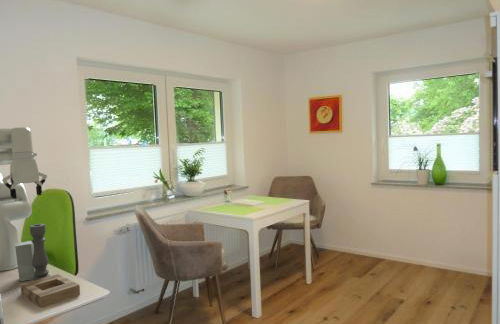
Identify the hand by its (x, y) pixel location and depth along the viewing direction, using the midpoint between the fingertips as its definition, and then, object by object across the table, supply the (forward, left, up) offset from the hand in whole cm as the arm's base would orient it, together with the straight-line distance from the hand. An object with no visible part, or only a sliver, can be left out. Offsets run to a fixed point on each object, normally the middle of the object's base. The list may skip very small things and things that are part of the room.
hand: (26, 196), depth 164 cm
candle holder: (+8, +1, -37) cm, 38 cm away
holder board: (+23, -2, -37) cm, 43 cm away
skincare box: (-5, 0, -37) cm, 37 cm away
